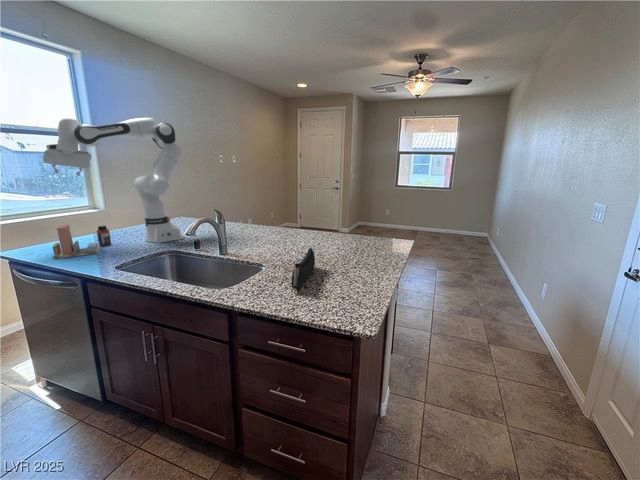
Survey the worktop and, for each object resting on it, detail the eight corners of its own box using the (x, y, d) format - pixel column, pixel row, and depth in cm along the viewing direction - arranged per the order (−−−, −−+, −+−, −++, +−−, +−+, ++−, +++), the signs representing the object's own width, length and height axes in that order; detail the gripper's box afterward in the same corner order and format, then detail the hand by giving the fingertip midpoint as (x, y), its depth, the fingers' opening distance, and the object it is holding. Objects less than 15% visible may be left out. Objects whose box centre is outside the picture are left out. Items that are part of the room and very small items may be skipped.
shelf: (99, 248, 175) (97, 238, 173) (97, 253, 166) (95, 242, 165) (57, 253, 166) (55, 242, 164) (53, 258, 158) (50, 246, 156)
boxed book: (74, 250, 167) (69, 225, 164) (72, 253, 162) (66, 227, 158) (64, 251, 165) (59, 225, 162) (62, 254, 160) (56, 228, 157)
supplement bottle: (97, 244, 183) (94, 225, 180) (109, 242, 187) (106, 224, 184) (100, 246, 179) (97, 227, 176) (112, 244, 183) (109, 225, 180)
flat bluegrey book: (98, 247, 174) (97, 242, 173) (96, 251, 167) (95, 246, 166) (90, 247, 172) (89, 243, 171) (88, 252, 165) (87, 246, 164)
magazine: (309, 247, 150) (293, 247, 121) (316, 248, 150) (301, 247, 120) (307, 283, 150) (290, 291, 120) (313, 283, 149) (298, 291, 120)
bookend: (89, 248, 171) (87, 239, 169) (87, 252, 164) (85, 243, 163) (77, 249, 168) (75, 240, 167) (75, 253, 162) (73, 244, 160)
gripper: (92, 153, 179) (91, 177, 179) (45, 146, 168) (45, 172, 169) (90, 151, 173) (89, 176, 174) (42, 144, 163) (42, 171, 164)
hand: (67, 174), depth 171 cm, fingers open, 8 cm apart
